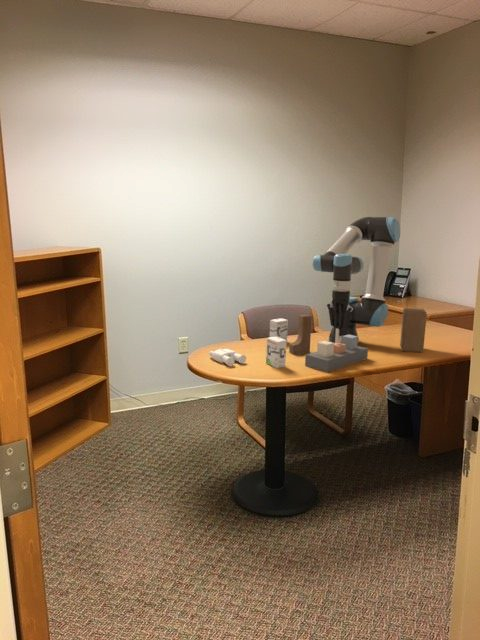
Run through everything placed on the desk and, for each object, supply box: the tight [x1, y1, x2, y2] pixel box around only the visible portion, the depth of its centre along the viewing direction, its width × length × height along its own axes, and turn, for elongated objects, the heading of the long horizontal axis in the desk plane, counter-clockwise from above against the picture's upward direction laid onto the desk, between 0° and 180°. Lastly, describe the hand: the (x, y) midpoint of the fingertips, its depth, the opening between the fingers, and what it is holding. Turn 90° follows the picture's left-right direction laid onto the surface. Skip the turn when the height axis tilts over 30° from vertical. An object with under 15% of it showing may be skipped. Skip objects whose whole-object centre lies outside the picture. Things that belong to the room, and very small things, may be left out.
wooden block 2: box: [399, 307, 428, 353], centre depth 249 cm, size 10×10×20 cm
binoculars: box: [208, 348, 247, 367], centre depth 227 cm, size 10×16×5 cm, turn 37°
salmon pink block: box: [334, 343, 346, 354], centre depth 227 cm, size 5×5×7 cm
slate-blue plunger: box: [342, 335, 359, 350], centre depth 232 cm, size 5×5×7 cm
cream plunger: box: [316, 340, 334, 358], centre depth 220 cm, size 5×5×7 cm
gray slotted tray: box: [304, 345, 369, 373], centre depth 227 cm, size 12×30×5 cm, turn 133°
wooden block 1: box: [288, 314, 312, 356], centre depth 240 cm, size 9×4×18 cm, turn 112°
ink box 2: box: [265, 336, 287, 369], centre depth 221 cm, size 9×5×12 cm, turn 32°
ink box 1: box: [269, 317, 289, 343], centre depth 260 cm, size 9×5×12 cm, turn 131°
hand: (338, 342), depth 226 cm, fingers closed
